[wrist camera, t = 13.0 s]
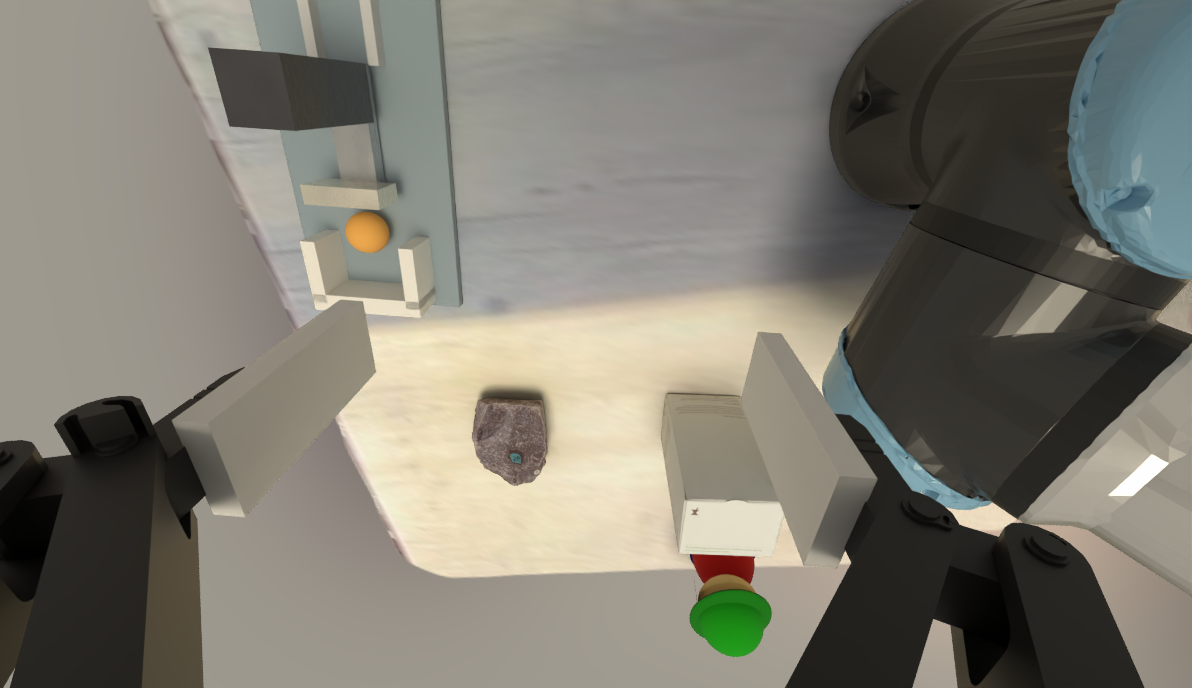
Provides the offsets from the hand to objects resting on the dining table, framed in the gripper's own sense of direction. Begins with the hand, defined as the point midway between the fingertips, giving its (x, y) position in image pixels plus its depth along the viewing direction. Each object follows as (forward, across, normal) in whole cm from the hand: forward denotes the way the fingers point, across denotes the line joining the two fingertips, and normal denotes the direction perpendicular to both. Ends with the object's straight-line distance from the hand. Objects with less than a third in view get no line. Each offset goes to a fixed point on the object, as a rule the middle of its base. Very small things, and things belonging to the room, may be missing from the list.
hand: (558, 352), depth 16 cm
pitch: (+29, -20, +6) cm, 35 cm away
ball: (+26, -20, -4) cm, 33 cm away
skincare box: (+29, +13, -23) cm, 39 cm away
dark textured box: (+27, -20, +4) cm, 34 cm away
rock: (+29, -8, -26) cm, 40 cm away
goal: (+28, -20, -8) cm, 35 cm away
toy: (+29, +17, -40) cm, 52 cm away
